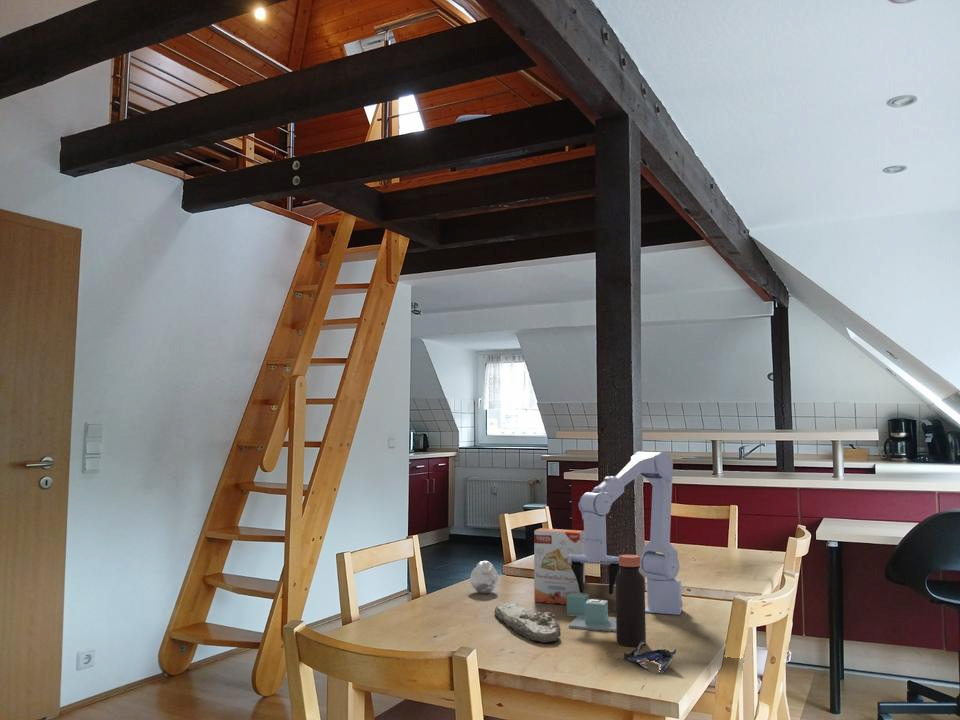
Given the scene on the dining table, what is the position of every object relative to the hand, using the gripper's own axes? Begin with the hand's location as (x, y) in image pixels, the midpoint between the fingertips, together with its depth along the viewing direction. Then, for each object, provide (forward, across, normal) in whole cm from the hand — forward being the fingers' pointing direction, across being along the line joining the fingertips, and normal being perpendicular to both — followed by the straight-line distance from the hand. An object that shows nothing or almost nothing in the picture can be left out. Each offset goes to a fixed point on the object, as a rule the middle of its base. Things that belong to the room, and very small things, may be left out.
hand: (596, 592), depth 192 cm
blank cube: (+8, -7, +10) cm, 15 cm away
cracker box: (+8, -15, +22) cm, 28 cm away
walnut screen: (+8, -1, +16) cm, 18 cm away
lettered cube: (+7, 0, 0) cm, 7 cm away
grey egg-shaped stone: (+8, -40, +27) cm, 49 cm away
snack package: (+8, +17, -30) cm, 36 cm away
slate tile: (+8, 0, 0) cm, 8 cm away
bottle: (+8, +11, -15) cm, 20 cm away
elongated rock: (+8, -17, -8) cm, 21 cm away
